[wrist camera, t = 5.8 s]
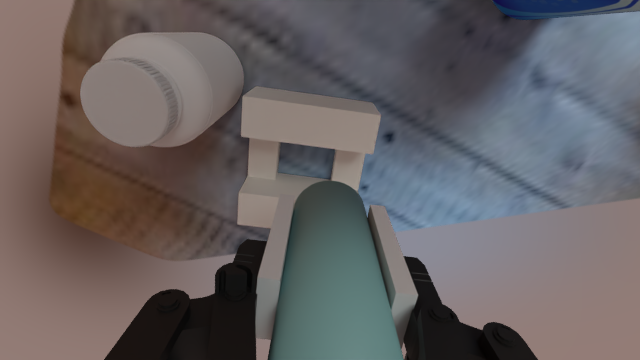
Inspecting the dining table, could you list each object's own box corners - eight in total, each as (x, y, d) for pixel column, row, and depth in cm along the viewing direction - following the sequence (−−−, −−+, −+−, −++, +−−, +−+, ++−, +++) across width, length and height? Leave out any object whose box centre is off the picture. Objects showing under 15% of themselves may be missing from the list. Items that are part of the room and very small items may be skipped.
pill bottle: (191, 125, 35) (105, 182, 22) (151, 49, 32) (23, 60, 19) (258, 100, 34) (214, 144, 20) (224, 19, 31) (145, 6, 17)
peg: (297, 176, 18) (254, 402, 7) (371, 185, 18) (451, 420, 7) (290, 239, 19) (246, 509, 8) (358, 247, 19) (406, 522, 8)
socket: (256, 86, 34) (242, 96, 28) (372, 102, 34) (381, 115, 29) (249, 197, 39) (237, 224, 33) (350, 210, 39) (355, 238, 34)
